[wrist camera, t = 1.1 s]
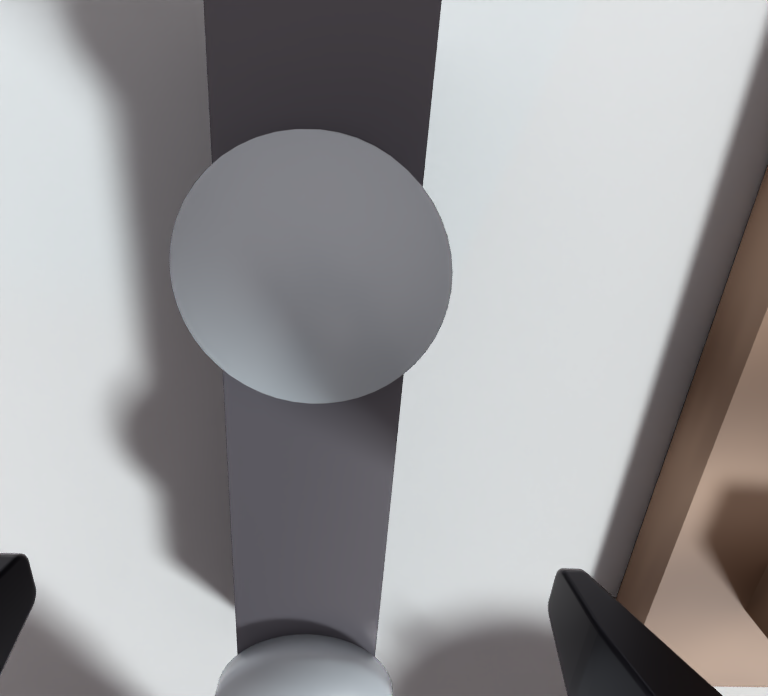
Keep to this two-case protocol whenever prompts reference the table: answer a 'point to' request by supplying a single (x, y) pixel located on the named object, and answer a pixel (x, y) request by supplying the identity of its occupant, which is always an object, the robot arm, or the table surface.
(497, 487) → the table surface
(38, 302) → the table surface
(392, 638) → the table surface
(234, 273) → the grey bar with knobs
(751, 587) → the display stand
